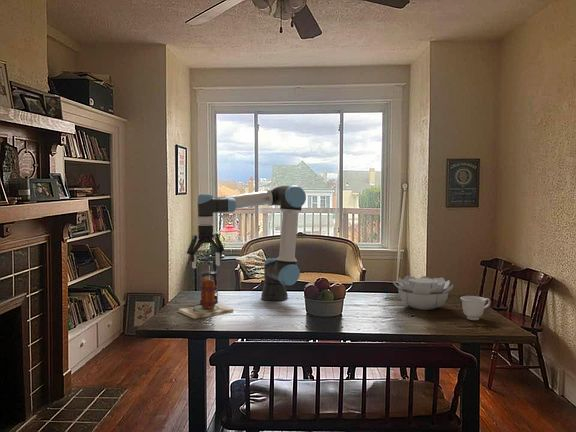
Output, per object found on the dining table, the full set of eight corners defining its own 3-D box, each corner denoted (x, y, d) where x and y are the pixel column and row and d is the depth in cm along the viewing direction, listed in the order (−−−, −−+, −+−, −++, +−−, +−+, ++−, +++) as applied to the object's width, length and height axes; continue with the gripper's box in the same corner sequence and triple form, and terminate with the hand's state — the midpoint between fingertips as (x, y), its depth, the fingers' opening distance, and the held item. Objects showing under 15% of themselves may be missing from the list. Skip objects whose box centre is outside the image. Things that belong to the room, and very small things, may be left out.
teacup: (496, 321, 240) (497, 300, 239) (467, 322, 237) (468, 301, 237) (482, 314, 252) (483, 295, 251) (455, 316, 249) (455, 296, 249)
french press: (216, 305, 270) (216, 262, 269) (199, 305, 270) (199, 262, 268) (219, 300, 282) (219, 259, 280) (202, 300, 281) (202, 259, 280)
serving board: (216, 305, 268) (216, 301, 268) (233, 311, 255) (233, 307, 255) (178, 312, 255) (178, 307, 254) (194, 318, 241) (194, 314, 241)
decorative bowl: (430, 299, 285) (430, 273, 285) (463, 312, 257) (464, 283, 256) (382, 303, 276) (383, 276, 275) (411, 316, 248) (412, 286, 247)
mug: (218, 310, 249) (217, 280, 249) (201, 311, 247) (201, 281, 246) (213, 303, 263) (213, 275, 262) (197, 304, 261) (197, 276, 260)
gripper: (222, 223, 263) (223, 263, 264) (179, 225, 247) (180, 268, 249) (230, 224, 257) (231, 265, 259) (186, 226, 242) (187, 270, 243)
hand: (206, 266), depth 254 cm, fingers open, 13 cm apart
